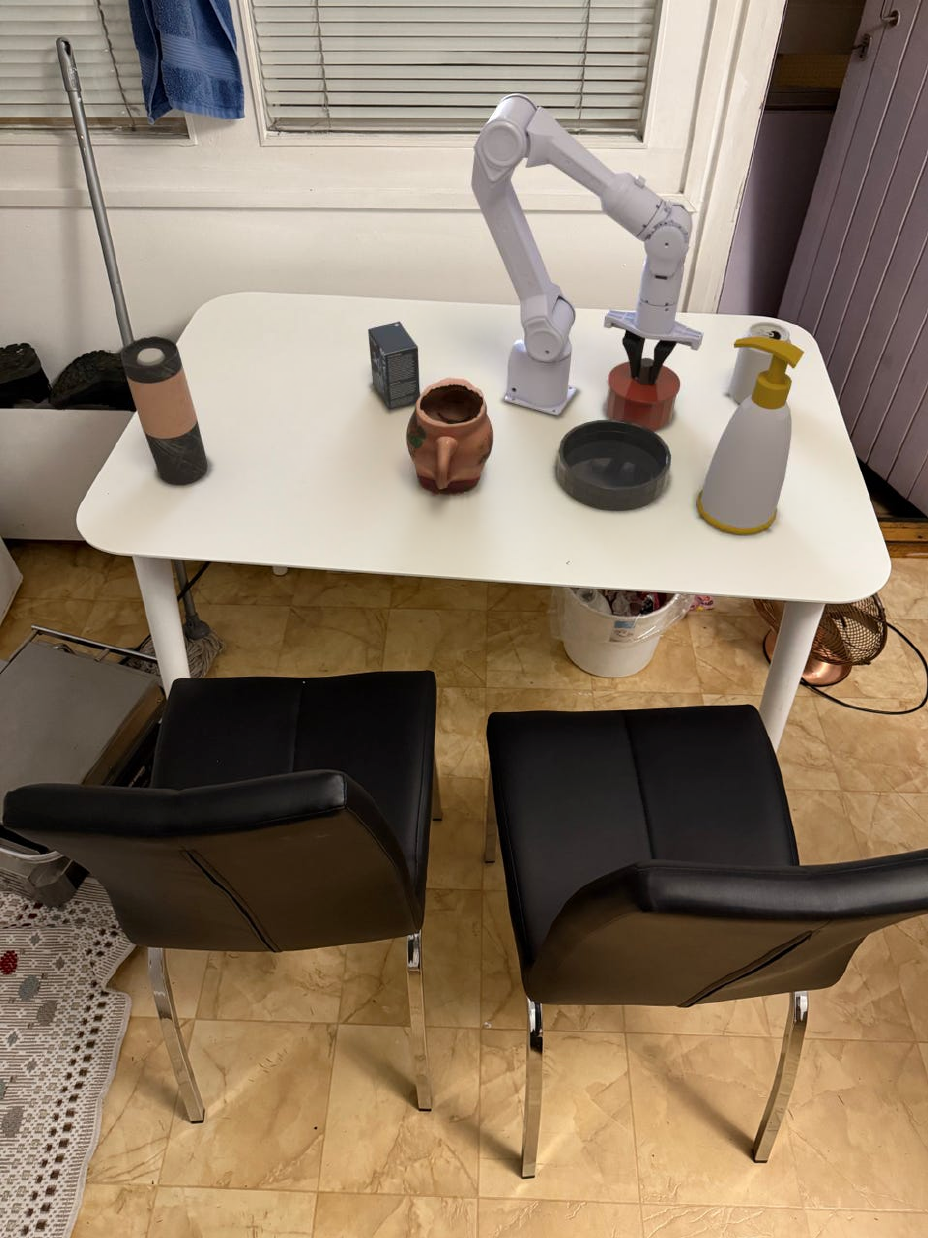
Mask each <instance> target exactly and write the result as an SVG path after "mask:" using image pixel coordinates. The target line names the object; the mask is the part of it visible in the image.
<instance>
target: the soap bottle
mask: <svg viewBox="0 0 928 1238" xmlns="http://www.w3.org/2000/svg"><path fill="white" fill-rule="evenodd" d="M741 347H747V348H755V349H758V350H762V351H764V352H767V353H770V354H773V357H772V361H771V364H770V367H769V370H766V371H763V372H761V373H759V374H758V376H757V379H756V383H755V387H754V390H753V393H752V394H751V395H750V396H748V397H747V398H746V399H745V400H743V402H742V403H741V404H739V406H738V407H737V408H736V409H735V411H734V412H733V414H732V415H731V417H730V418H729V420H728V422H727V424H726V426H725V429H724V431H723V432H722V435H721V437H720V439H719V441H718V443H717V446H716V448H715V450H714V453H713V456H712V458H711V461H710V464H709V466H708V469H707V473H706V475H705V480H704V484H703V487H702V490H700V491H699V492H698V496H697V500H696V505H697V508H698V512H699V514H700V516H701V517H702V518H703V519H704V520H705V521H706V522H707V523H708V525H710V526H713V527H714V528H716V529H717V530H720V531H722V532H725V533H730V534H735V535H755V534H757V533H760V532H763V531H765V530H767V529H768V528H769V527H770V526H771V525H772V524H773V523H774V522H775V521H776V519H777V513H778V505H779V502H780V497H781V494H782V491H783V490H782V489H783V486H784V481H785V477H786V472H787V466H788V459H789V456H790V455H789V454H790V449H791V441H792V432H793V431H792V427H793V426H792V414H791V408H790V405H789V404H788V402H787V399H788V396H789V393H790V390H791V387H792V384H793V380H792V379H791V377H790V376H789V375H788V374H786V371H787V368H788V366H790V367H791V368H792V369H793V370H794V369H795V368H796V367H797V365H798V363H799V362H800V360H801V359H802V357H803V355H804V354H805V351H804V350H802V348H801V349H800V347H798V346H796V345H794V344H792V343H791V344H790V343H787V342H785V341H781V340H776V339H772V338H766V337H760V336H758V337H746V338H742V337H741V338H737V339H735V341H734V342H733V348H734V349H739V348H741Z"/></svg>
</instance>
